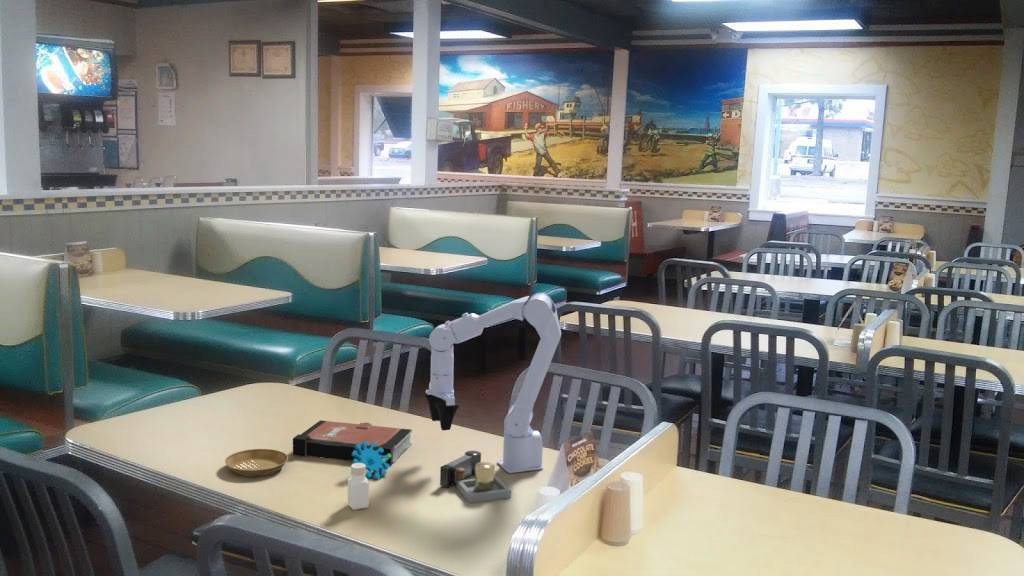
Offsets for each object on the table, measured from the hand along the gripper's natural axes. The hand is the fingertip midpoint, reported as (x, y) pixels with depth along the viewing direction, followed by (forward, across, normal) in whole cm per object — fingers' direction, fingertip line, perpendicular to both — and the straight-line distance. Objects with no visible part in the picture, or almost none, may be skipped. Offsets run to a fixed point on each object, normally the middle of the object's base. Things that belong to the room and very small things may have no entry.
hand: (440, 425), depth 222 cm
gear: (+10, +4, -18) cm, 21 cm away
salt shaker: (+10, +21, -26) cm, 35 cm away
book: (+10, -15, -19) cm, 26 cm away
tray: (+9, +23, +3) cm, 25 cm away
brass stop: (+9, +23, +3) cm, 25 cm away
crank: (+9, +13, +1) cm, 16 cm away
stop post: (+9, +17, -1) cm, 19 cm away
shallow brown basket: (+10, -9, -44) cm, 46 cm away
